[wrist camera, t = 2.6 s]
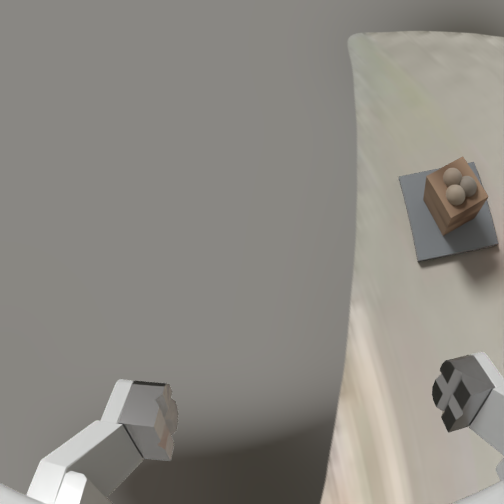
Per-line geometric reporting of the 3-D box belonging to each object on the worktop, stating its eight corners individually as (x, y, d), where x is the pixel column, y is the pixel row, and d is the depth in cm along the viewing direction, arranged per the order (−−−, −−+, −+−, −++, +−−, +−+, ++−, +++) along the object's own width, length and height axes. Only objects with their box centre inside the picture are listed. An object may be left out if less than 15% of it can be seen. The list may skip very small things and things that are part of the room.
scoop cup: (454, 182, 37) (464, 150, 29) (475, 217, 35) (491, 192, 27) (423, 200, 39) (426, 170, 31) (442, 236, 37) (452, 214, 29)
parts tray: (472, 165, 37) (473, 162, 36) (496, 245, 34) (498, 243, 33) (399, 179, 42) (398, 176, 41) (417, 261, 39) (418, 260, 38)
